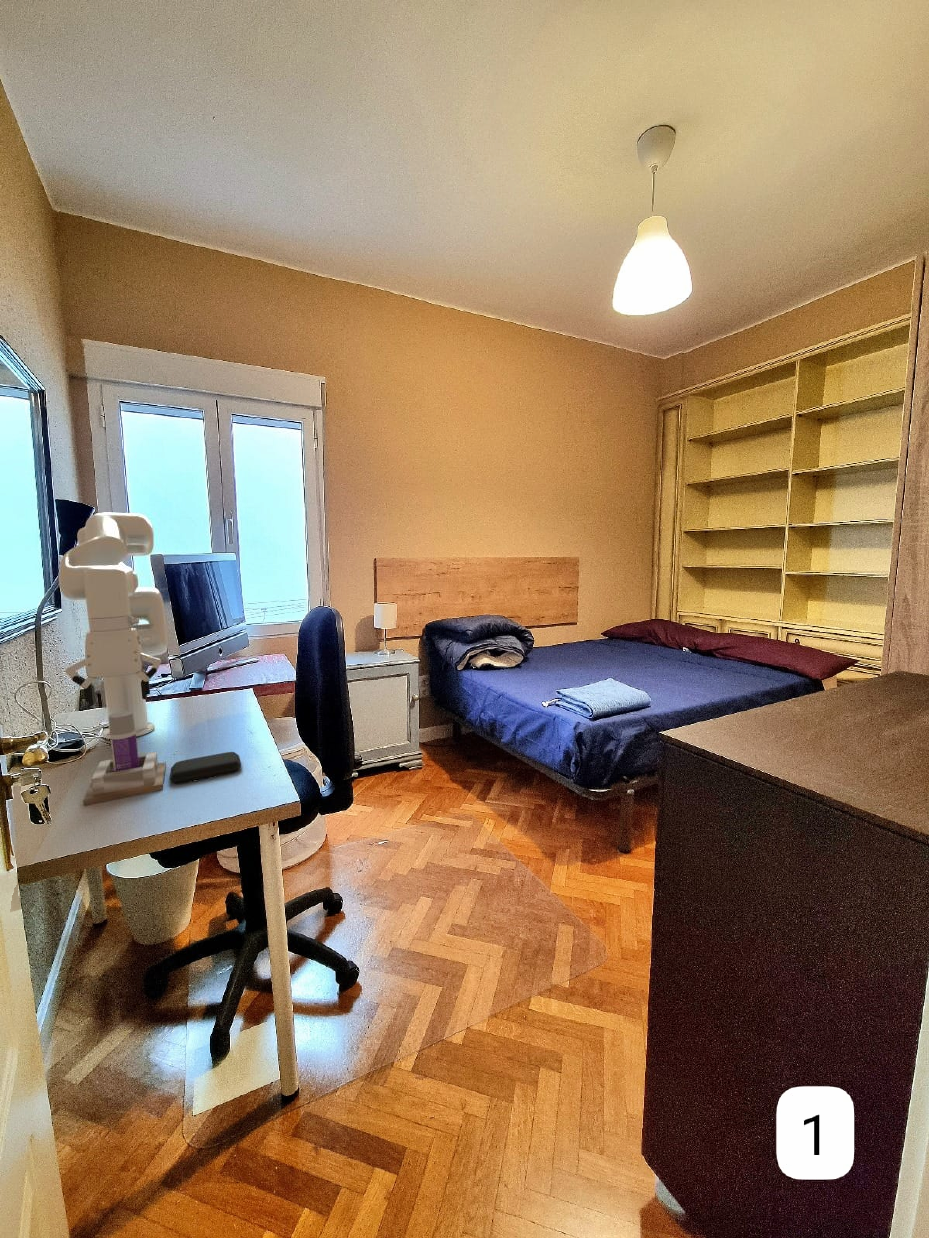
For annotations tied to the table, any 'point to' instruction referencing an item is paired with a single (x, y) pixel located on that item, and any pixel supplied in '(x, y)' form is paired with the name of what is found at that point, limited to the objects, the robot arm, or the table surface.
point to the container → (123, 741)
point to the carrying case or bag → (205, 767)
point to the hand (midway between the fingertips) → (119, 701)
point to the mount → (126, 780)
